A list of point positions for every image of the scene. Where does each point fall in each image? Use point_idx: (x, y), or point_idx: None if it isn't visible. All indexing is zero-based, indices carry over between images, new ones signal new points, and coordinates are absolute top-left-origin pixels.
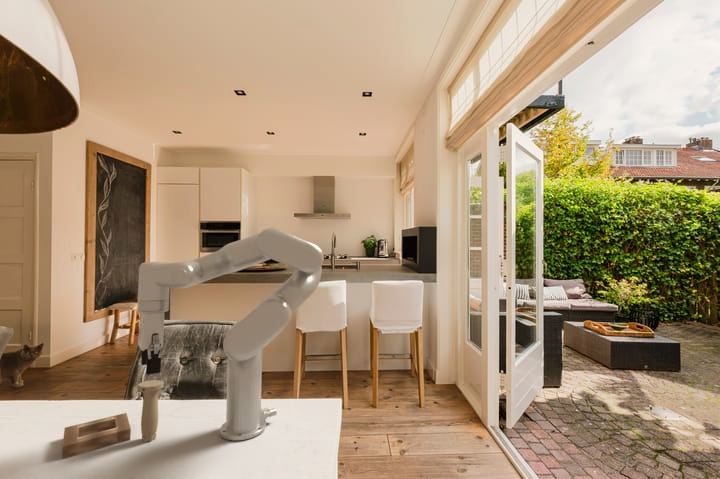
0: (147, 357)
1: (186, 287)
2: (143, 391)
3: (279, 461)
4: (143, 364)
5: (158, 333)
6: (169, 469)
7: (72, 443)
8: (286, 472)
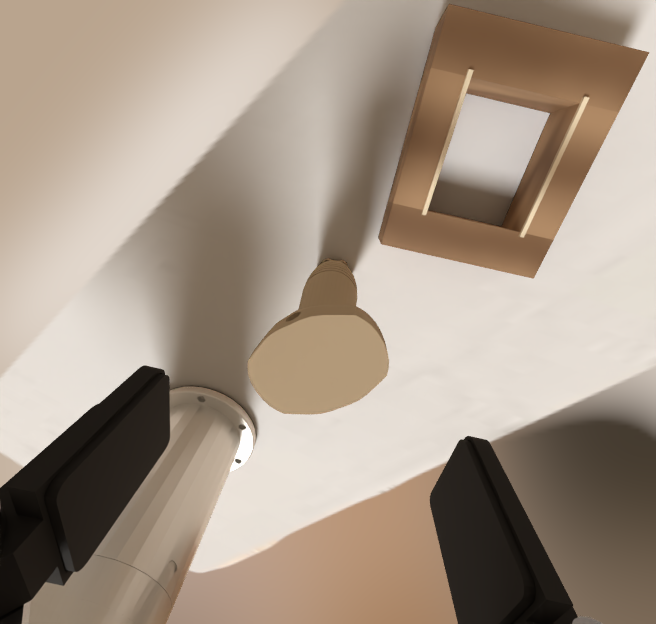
0: (466, 527)
1: None
2: (294, 312)
3: (34, 400)
4: (460, 446)
5: None
6: (136, 249)
7: (443, 46)
8: None
